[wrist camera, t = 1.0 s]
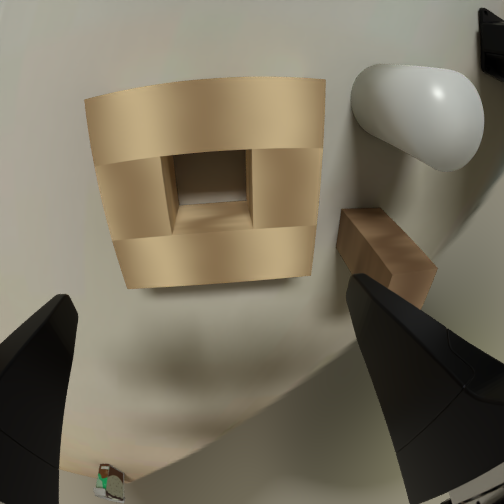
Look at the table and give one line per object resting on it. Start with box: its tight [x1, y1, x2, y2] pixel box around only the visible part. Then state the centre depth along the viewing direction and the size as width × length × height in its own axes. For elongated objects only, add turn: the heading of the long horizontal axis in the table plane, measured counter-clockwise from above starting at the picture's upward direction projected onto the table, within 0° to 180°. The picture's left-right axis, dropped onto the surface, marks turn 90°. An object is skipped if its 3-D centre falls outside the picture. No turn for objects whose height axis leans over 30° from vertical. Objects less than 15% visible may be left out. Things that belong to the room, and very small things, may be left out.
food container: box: [93, 464, 125, 503], centre depth 52 cm, size 12×6×10 cm, turn 4°
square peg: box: [336, 208, 438, 310], centre depth 19 cm, size 3×3×8 cm
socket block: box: [84, 77, 326, 289], centre depth 17 cm, size 12×12×4 cm
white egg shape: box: [351, 64, 484, 172], centre depth 14 cm, size 6×6×7 cm
